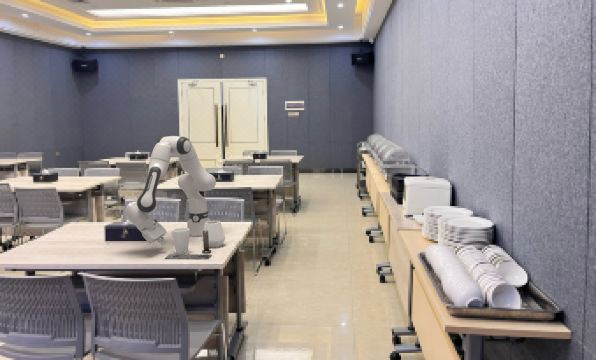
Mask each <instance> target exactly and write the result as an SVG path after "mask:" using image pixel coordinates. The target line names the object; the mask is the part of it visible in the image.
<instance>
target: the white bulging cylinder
mask: <svg viewBox="0 0 596 360" xmlns="http://www.w3.org/2000/svg"><path fill="white" fill-rule="evenodd" d="M204 231H208V236H209V249H212V248H220V247H222V246H223V244H224V242H225V241H226V236H225V233H224V229H223V225H222V223H221V221H220V220H211V221H208V222H206V223H205V226H204ZM201 241H202V242H203V236H201Z"/></svg>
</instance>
